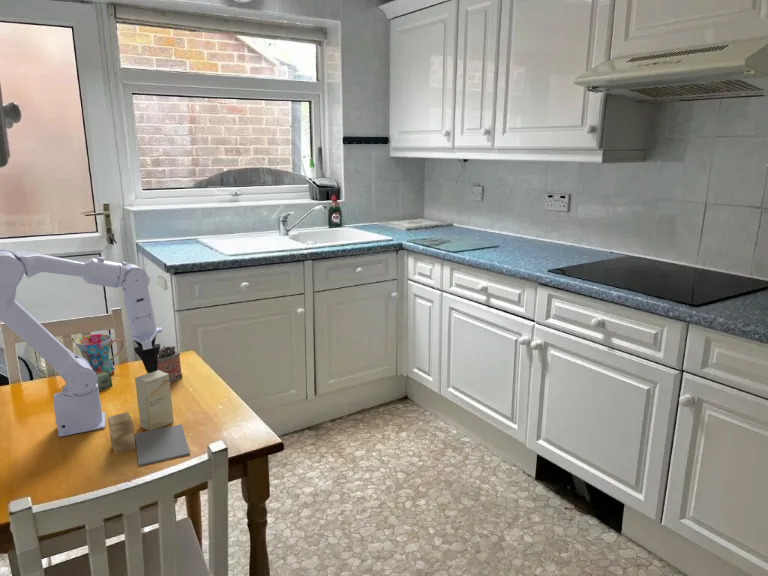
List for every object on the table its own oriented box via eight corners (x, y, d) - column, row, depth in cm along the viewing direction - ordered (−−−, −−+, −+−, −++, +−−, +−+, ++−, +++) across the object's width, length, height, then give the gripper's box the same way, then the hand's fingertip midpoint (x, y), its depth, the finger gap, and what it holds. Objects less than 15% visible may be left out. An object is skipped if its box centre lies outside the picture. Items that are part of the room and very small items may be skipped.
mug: (84, 384, 156) (78, 347, 153) (77, 373, 163) (72, 338, 160) (130, 373, 163) (126, 337, 160) (122, 363, 170) (117, 329, 167)
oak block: (115, 454, 121) (111, 424, 119) (111, 446, 124) (107, 417, 122) (135, 448, 123) (131, 418, 121) (131, 440, 126) (127, 412, 124)
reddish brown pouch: (177, 374, 161) (174, 341, 159) (185, 377, 160) (181, 343, 157) (152, 384, 155) (147, 349, 153) (159, 387, 153) (155, 352, 151)
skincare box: (150, 432, 130) (144, 382, 127) (139, 426, 132) (133, 377, 129) (174, 421, 135) (169, 373, 131) (164, 416, 137) (158, 369, 134)
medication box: (107, 384, 156) (105, 370, 155) (113, 386, 155) (111, 372, 154) (63, 400, 146) (60, 386, 146) (68, 403, 145) (66, 388, 144)
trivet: (138, 466, 116) (138, 464, 116) (135, 435, 128) (134, 433, 128) (190, 454, 120) (189, 452, 120) (181, 425, 132) (181, 424, 132)
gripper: (161, 319, 131) (171, 373, 135) (155, 303, 144) (165, 353, 148) (128, 326, 128) (139, 381, 132) (125, 309, 141) (136, 359, 145)
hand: (151, 366), depth 140 cm, fingers open, 7 cm apart
